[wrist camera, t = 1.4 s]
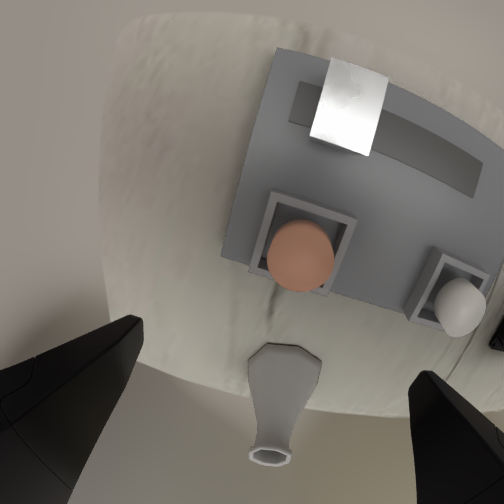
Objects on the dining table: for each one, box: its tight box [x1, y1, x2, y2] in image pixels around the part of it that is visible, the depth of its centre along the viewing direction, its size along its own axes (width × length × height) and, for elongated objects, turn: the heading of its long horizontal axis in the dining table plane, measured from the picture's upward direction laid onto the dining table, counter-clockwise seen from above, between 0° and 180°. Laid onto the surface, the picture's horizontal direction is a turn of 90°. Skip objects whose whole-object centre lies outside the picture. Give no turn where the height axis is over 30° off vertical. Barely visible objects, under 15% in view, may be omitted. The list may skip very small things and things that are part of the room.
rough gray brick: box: [308, 57, 389, 156], centre depth 13 cm, size 3×4×4 cm
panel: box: [221, 48, 504, 331], centre depth 17 cm, size 22×15×4 cm
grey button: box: [434, 278, 486, 338], centre depth 15 cm, size 4×4×2 cm
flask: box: [248, 344, 322, 467], centre depth 21 cm, size 7×7×10 cm
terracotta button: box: [267, 219, 334, 292], centre depth 16 cm, size 4×4×2 cm
